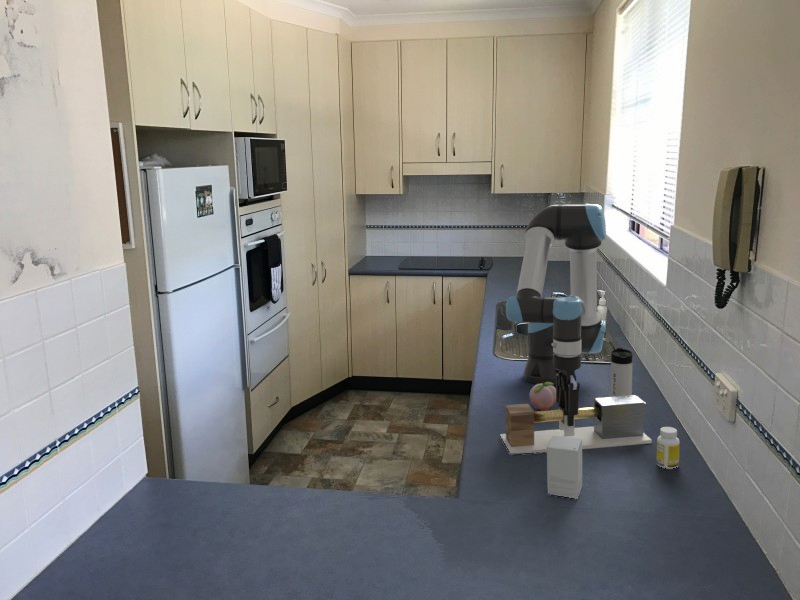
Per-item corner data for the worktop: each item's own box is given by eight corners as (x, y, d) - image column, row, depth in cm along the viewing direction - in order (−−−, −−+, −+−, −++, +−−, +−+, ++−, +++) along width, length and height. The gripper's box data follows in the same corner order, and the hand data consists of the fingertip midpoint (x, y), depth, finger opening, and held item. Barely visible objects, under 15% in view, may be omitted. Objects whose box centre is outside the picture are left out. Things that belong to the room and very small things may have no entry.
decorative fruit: (538, 403, 214) (538, 374, 212) (561, 408, 209) (561, 379, 207) (523, 412, 207) (523, 382, 205) (547, 418, 202) (546, 387, 200)
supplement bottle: (680, 463, 169) (682, 427, 167) (676, 471, 165) (677, 435, 163) (658, 458, 172) (660, 424, 170) (654, 467, 168) (655, 431, 166)
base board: (500, 437, 190) (500, 434, 190) (632, 426, 193) (632, 423, 193) (510, 455, 178) (510, 452, 178) (651, 443, 181) (651, 439, 181)
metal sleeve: (593, 430, 189) (594, 398, 187) (635, 427, 190) (636, 394, 188) (602, 439, 183) (602, 405, 181) (645, 435, 184) (646, 402, 182)
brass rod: (532, 421, 185) (532, 408, 184) (620, 414, 187) (620, 401, 186) (535, 426, 182) (535, 412, 181) (625, 418, 184) (626, 405, 183)
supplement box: (583, 486, 160) (583, 438, 158) (577, 500, 154) (578, 451, 151) (552, 481, 163) (552, 434, 161) (546, 495, 157) (546, 446, 154)
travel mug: (628, 408, 207) (629, 347, 203) (633, 416, 200) (635, 353, 196) (607, 408, 208) (609, 347, 203) (612, 416, 201) (613, 354, 197)
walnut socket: (506, 438, 187) (505, 405, 185) (528, 436, 188) (527, 403, 185) (511, 447, 181) (510, 413, 179) (534, 445, 182) (534, 411, 180)
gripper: (544, 346, 188) (544, 422, 193) (564, 363, 172) (563, 446, 177) (569, 344, 189) (569, 420, 193) (591, 361, 172) (590, 443, 177)
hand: (566, 432), depth 185 cm, fingers closed on brass rod, 3 cm apart
